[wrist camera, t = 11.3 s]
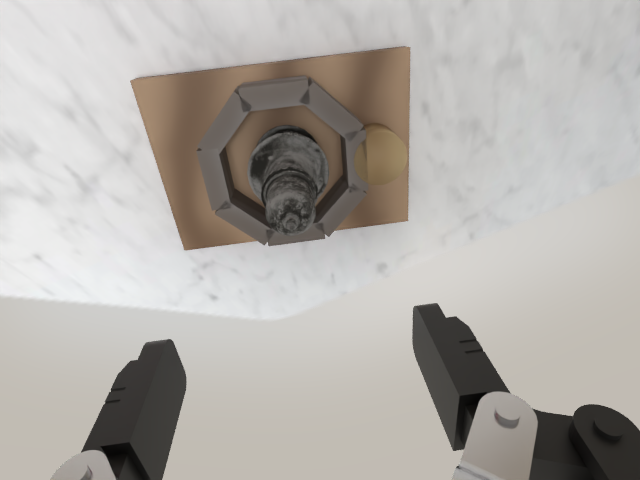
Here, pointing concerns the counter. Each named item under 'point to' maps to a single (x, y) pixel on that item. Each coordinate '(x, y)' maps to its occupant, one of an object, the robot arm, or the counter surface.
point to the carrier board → (269, 112)
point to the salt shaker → (288, 177)
